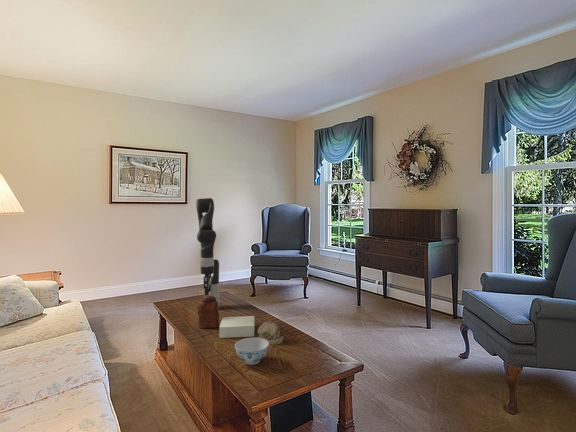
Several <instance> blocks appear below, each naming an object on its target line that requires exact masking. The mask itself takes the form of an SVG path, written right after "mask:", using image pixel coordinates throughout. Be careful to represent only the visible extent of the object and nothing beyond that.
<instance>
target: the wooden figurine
mask: <svg viewBox="0 0 576 432" xmlns="http://www.w3.org/2000/svg"><path fill="white" fill-rule="evenodd" d="M219 310H220V307H219V308H218V302H217V301H216V298H215V297H214V296H211V295H207V296H205V295H204V296H203V297H202V298H201V300H199V301H198V302H197V316H198V328H199V329H211V328H218V327H220V318H219V317H220V316H219V315H220V314H219Z"/></svg>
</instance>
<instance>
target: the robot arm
mask: <svg viewBox="0 0 576 432" xmlns="http://www.w3.org/2000/svg"><path fill="white" fill-rule="evenodd" d="M214 202H215V201H214V199H213V198H210V197H207V198H206V197H205V198H197V199H196V202H195V205H196V206H195V207H196V213H197V220H198V232H197V235H196V239H197V242H199V243H200V274H201V275H204V277H203V278H202V279H203V289H204V297H205V296H207V295H211V296H214V297H215V298H216V301H217V302H218V308H219V309H220V261H219V260H218V259H216V258H215V259H214V247H215V243H216V240H217V233H216V231H215V230H214V229H213V227H214V226H213V218H214V213H215V203H214Z"/></svg>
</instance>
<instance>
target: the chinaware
mask: <svg viewBox="0 0 576 432" xmlns="http://www.w3.org/2000/svg"><path fill="white" fill-rule="evenodd" d="M269 347H270V344H269V342H268V341H267V340H265V339H263V338H258V337H245V338H243V339H239V340H238V341H237V342H235V344H234V348H235V352H236V354H237V356H238V357H239V358H240V359H241V360H242V361H243V362H244V363H245V364H247V365H254V366H255V365H257V364H258V363H260V361H261V360H262V359H264V357H265V356H266V354H267V353H268V349H269Z"/></svg>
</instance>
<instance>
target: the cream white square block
mask: <svg viewBox="0 0 576 432" xmlns="http://www.w3.org/2000/svg"><path fill="white" fill-rule="evenodd" d="M218 327H219V328H218V329H219V331H218V332H219V335H218V336H219V339H221V338H222V339H224V338H225V339H227V338H243V337H245V338H251V337H255V315H248V316H244V315H243V316H224V317H223V316H222V318H221V321H220V323H219V326H218Z"/></svg>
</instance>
